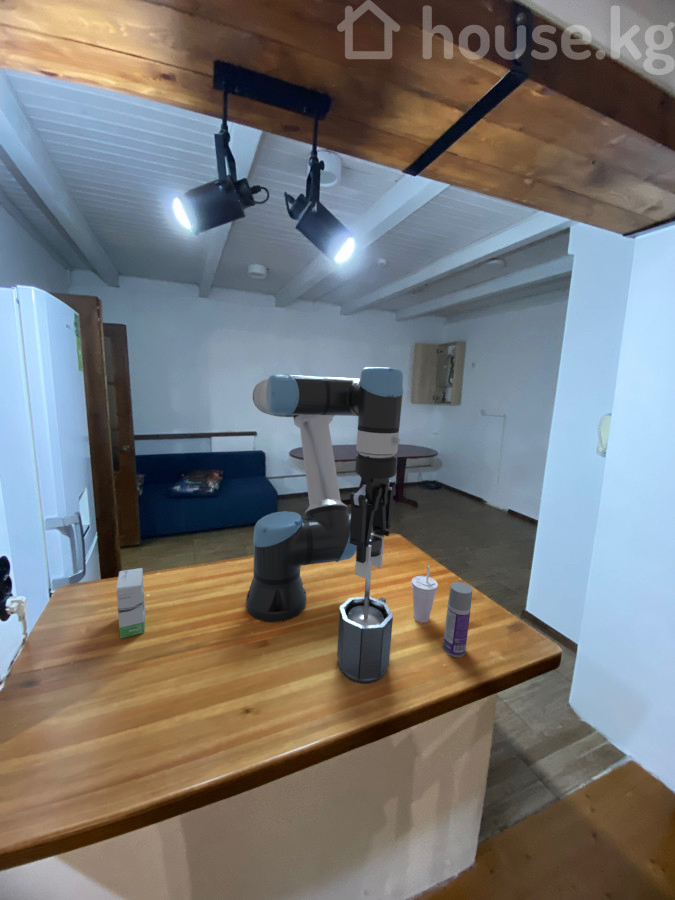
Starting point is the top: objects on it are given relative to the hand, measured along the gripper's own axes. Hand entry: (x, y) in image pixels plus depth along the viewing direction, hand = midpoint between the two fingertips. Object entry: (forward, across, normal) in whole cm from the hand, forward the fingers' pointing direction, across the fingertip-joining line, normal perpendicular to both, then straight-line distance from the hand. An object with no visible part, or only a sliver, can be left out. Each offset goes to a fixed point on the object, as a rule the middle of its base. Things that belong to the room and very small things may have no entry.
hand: (368, 570), depth 71 cm
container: (+21, +16, -14) cm, 30 cm away
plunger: (+11, 0, 0) cm, 11 cm away
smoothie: (+21, +22, -4) cm, 31 cm away
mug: (+21, +1, 0) cm, 21 cm away
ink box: (+21, -22, +48) cm, 57 cm away
